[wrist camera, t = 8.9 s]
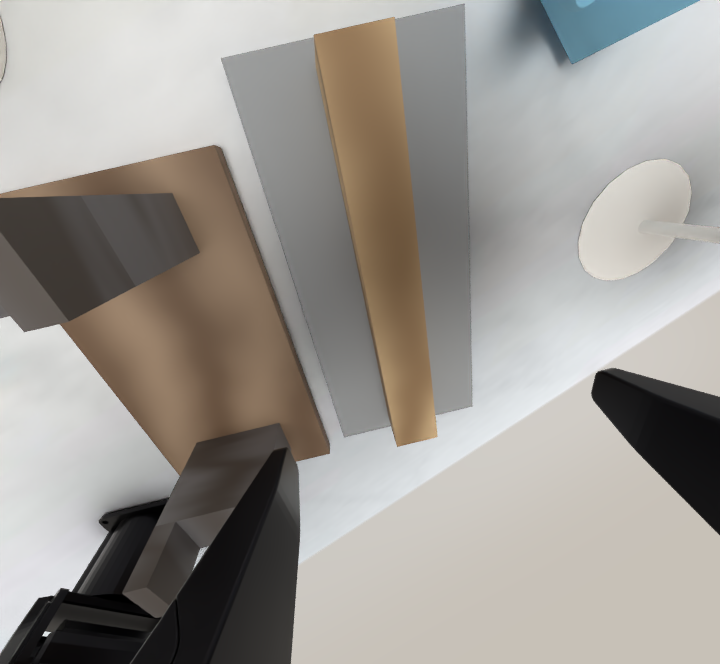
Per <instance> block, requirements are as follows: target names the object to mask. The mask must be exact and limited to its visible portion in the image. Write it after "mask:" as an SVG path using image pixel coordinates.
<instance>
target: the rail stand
mask: <svg viewBox="0 0 720 664" xmlns="http://www.w3.org/2000/svg"><path fill="white" fill-rule="evenodd" d="M8 316H11V317H12V318H13V320H14V321H15V322H16V323H17V324H18V325H19V327H20V328H21V329H22V330H23V331H24V332H27V331H31V330H36V329H40V328H44V327H48V326H53V325H57V324H60V325H61V326H62V327H63V329H64V330H65V331H66V332H67V334H68V335H69V336H70V338H71V339H72V340H73V341H74V343H75V344H76V345H77V346H78V348H79V349H80V350H81V351H82V353H83V354H84V355H85V357H86V358H87V359H88V360H89V362H90V363H91V364H92V365H93V367H94V368H95V369H96V370H97V372H98V373H99V374H100V376H101V377H102V378H103V379H104V381H105V382H106V383H107V384H108V386H109V387H110V388H111V389H112V391H113V392H114V393H115V394H116V396H117V397H118V398H119V400H120V401H121V402H122V403H123V405H124V406H125V407H126V408H127V410H128V411H129V412H130V413H131V415H132V416H133V417H134V419H135V420H136V421H137V422H138V424H139V425H140V426H141V427H142V429H143V430H144V431H145V432H146V434H147V435H148V436H149V438H150V439H151V440H152V441H153V443H154V444H155V445H156V446H157V448H158V449H159V450H160V451H161V453H162V454H163V455H164V456H165V458H166V459H167V460H168V462H169V463H170V464H171V465H172V467H173V468H174V469H175V470H176V472H177V473H178V474H179V475H180V477H179V479H178V481H177V483H176V485H175V487H174V489H173V491H172V493H171V495H170V497H169V499H168V501H167V503H166V505H165V507H164V509H163V511H162V513H161V515H160V517H159V520H158V522H157V524H156V526H155V528H154V530H153V532H152V534H151V536H150V538H149V540H148V542H147V544H146V546H145V548H144V550H143V552H142V554H141V556H140V558H139V560H138V562H137V564H136V566H135V568H134V570H133V572H132V574H131V576H130V578H129V580H128V582H127V584H126V586H125V588H124V590H123V592H122V594H123V595H125V596H126V597H127V598H129V599H130V600H131V601H133V602H134V603H136V604H137V605H138V606H140V607H141V608H142V609H144V610H145V611H146V612H148V613H149V614H151V615H152V616H153V617H155V618H159V617H162V616H163V615H164V613H165V612H166V610H167V609H168V607H169V606H170V604H171V603H172V601H173V600H174V599H176V596H177V594H178V592H179V591H180V589H181V588H182V586H183V585H184V583H185V582H186V580H187V579H188V577H189V576H190V574H191V573H192V570H193V567H194V564H195V561H196V559H197V556H198V553H199V550H200V548H203V547H207V546H210V544H211V543H212V541H213V540H214V538H215V537H216V535H217V534H218V532H219V530H220V529H221V527H222V526H223V524H224V523H225V521H226V520H227V518H228V517H229V515H230V514H231V512H232V511H233V509H234V508H235V506H236V505H237V503H238V502H239V500H240V499H241V497H242V496H243V494H244V493H245V491H246V490H247V488H248V487H249V485H250V484H251V482H252V481H253V479H254V478H255V476H256V475H257V473H258V472H259V470H260V469H261V467H262V466H263V464H264V463H265V461H266V460H267V458H268V457H269V455H270V454H271V452H272V451H273V450H275V449H279V448H283V447H288V448H289V449H290V451H291V453H292V455H293V458H294V460H295V462H296V461H301V460H305V459H309V458H313V457H317V456H321V455H325V454H330V444H329V441H328V438H327V436H326V433H325V430H324V427H323V425H322V422H321V419H320V416H319V414H318V411H317V408H316V406H315V403H314V400H313V397H312V395H311V392H310V389H309V386H308V384H307V381H306V378H305V376H304V373H303V370H302V367H301V365H300V362H299V359H298V356H297V354H296V351H295V348H294V346H293V343H292V340H291V337H290V335H289V332H288V329H287V326H286V324H285V321H284V318H283V316H282V313H281V310H280V307H279V305H278V302H277V299H276V296H275V294H274V291H273V288H272V286H271V283H270V280H269V277H268V275H267V272H266V269H265V266H264V264H263V261H262V258H261V256H260V253H259V250H258V247H257V245H256V242H255V239H254V236H253V234H252V231H251V228H250V226H249V223H248V220H247V217H246V215H245V212H244V209H243V206H242V204H241V201H240V198H239V196H238V193H237V190H236V187H235V185H234V182H233V179H232V177H231V174H230V171H229V168H228V166H227V163H226V160H225V157H224V155H223V152H222V149H221V148H220V147H218V146H215V145H212V146H208V147H204V148H199V149H195V150H190V151H186V152H182V153H177V154H173V155H168V156H164V157H160V158H155V159H151V160H147V161H142V162H138V163H133V164H129V165H125V166H120V167H116V168H111V169H107V170H103V171H98V172H94V173H89V174H85V175H81V176H76V177H72V178H68V179H63V180H59V181H54V182H50V183H46V184H41V185H37V186H32V187H28V188H24V189H19V190H15V191H10V192H6V193H2V194H0V318H4V317H8Z"/></svg>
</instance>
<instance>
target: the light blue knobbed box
mask: <svg viewBox="0 0 720 664" xmlns="http://www.w3.org/2000/svg"><path fill="white" fill-rule="evenodd" d="M540 1H541V3H542V5H543V7H544V9H545V11H546V13H547V15H548V17H549V19H550V21H551V23H552V25H553V27H554V29H555V31H556V33H557V35H558V37H559V39H560V41H561V43H562V46H563V48H564V50H565V52H566V54H567V56H568V58H569V60H570V62H571V64H574V63H576V62H578V61H580V60H582V59H584V58H586V57H588V56H590V55H592V54H594V53H596V52H598V51H600V50H602V49H604V48H606V47H608V46H610V45H612V44H614V43H616V42H618V41H620V40H622V39H624V38H626V37H628V36H630V35H632V34H634V33H636V32H638V31H640V30H642V29H644V28H646V27H648V26H650V25H652V24H654V23H656V22H658V21H660V20H662V19H664V18H666V17H668V16H670V15H672V14H674V13H676V12H678V11H680V10H682V9H684V8H686V7H688V6H690V5H692V4H694V3H696V2H698V1H700V0H540Z"/></svg>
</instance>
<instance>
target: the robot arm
mask: <svg viewBox="0 0 720 664" xmlns="http://www.w3.org/2000/svg"><path fill="white" fill-rule="evenodd" d="M591 394H592V398H593V400H594V402H595V403H596V404H597V405H598V407H599V408H600V409H601V410H602V411H603V413H604V414H605V415H606V416H607V417H608V418H609V420H610V421H611V422H612V423H613V425H614V426H615V427H616V428H617V429H618V430H619V432H620V433H621V434H622V435H623V436H624V438H625V439H626V440H627V441H628V442H629V443H630V445H631V446H632V447H633V448H634V449H635V450H636V451H637V452H638V453H639V454H640V455H641V456H642V458H643V459H644V460H645V461H647V463H648V464H649V465H650V466H651V467H652V468H654V469H655V471H656V472H657V473H658V474H659V475H661V477H662V478H663V479H664V480H665V481H666V482H667V483H668V484H669V485H670V486H671V487H672V488H673V489H674V490H675V491H676V492H677V493H678V494H679V495H680V496H681V497H682V498H683V499H684V500H685V501H686V502H687V503H688V504H689V505H690V506H691V507H692V508H693V509H694V510H695V511H696V512H697V513H698V514H699V515H700V516H701V517H702V518H703V519H704V520H705V521H706V522H707V523H708V524H709V525H710V526H711V527H712V528H713V529H714V530H715V531H716V532H717V533H718V534H719V535H720V397H718V396H714V395H711V394H707V393H704V392H700V391H696V390H693V389H689V388H685V387H682V386H678V385H674V384H671V383H667V382H664V381H660V380H656V379H653V378H649V377H645V376H642V375H638V374H635V373H631V372H627V371H624V370H620V369H616V368H610V369H605V370H601V371H598V372H597V373H596V375H595V379H594V383H593V387H592V392H591ZM167 501H168V500H163V501H159V502H155V503H151V504H147V505H142V506H138V507H134V508H130V509H126V510H122V511H118V512H113V513H109V514H105V515H103V516H102V517H101V519H100V520H99V523H100V524H101V525H102V526H103V527H104V528H105V529H106V530H107V531H109V533H108V534H107V536H106V538H105V539H104V541H103V543H102V544H101V546H100V547H99V549H98V551H97V552H96V554H95V555H94V557H93V559H92V560H91V562H90V563H89V565H88V567H87V568H86V570H85V571H84V573H83V575H82V576H81V578H80V579H79V581H78V583H77V584H76V586H75V587H74V589H73V591H72V592H70V591H69V589H64V588H60V590H59V591H58V592H57V593H56V594H55V596H48V597H42V598H38V600H37V601H36V602H35V603H34V605H33V606H32V608H31V609H30V611H29V612H28V613H27V615H26V616H25V618H24V619H23V621H22V622H21V624H20V625H19V626H18V628H17V629H16V631H15V632H14V634H13V635H12V637H11V638H10V640H9V641H8V643H7V644H6V646H5V647H4V649H3V650H2V652H1V653H0V664H291V653H292V638H293V624H294V611H295V598H296V584H297V570H298V557H299V543H300V505H299V473H298V467H297V464H296V462H295V460H294V458H293V455H292V453H291V451H290V449H289V448H288V447H283V448H279V449H275V450H273V451H272V452H271V454H270V455H269V457H268V458H267V460H266V461H265V463H264V464H263V466H262V467H261V469H260V470H259V472H258V473H257V475H256V476H255V478H254V479H253V481H252V482H251V484H250V485H249V487H248V488H247V490H246V491H245V493H244V494H243V496H242V497H241V499H240V500H239V502H238V503H237V505H236V506H235V508H234V509H233V511H232V512H231V514H230V515H229V517H228V518H227V520H226V521H225V523H224V524H223V526H222V527H221V529H220V530H219V532H218V534H217V535H216V537H215V538H214V540H213V541H212V543H211V544H210V546H209V547H208V549H207V550H206V552H205V553H204V555H203V556H202V558H201V559H200V561H199V562H198V564H197V565H196V567H195V568H194V570H193V571H192V573H191V574H190V576H189V577H188V579H187V580H186V582H185V583H184V585H183V586H182V588H181V589H180V591H179V592H178V594H177V596H176V599H174V600H173V601H172V603H171V604H170V606H169V607H168V609H167V610H166V612H165V613H164V615H163V616H162V617H159V618H155V617H153V616H152V615H151V614H149V613H148V612H146V611H145V610H144V609H142V608H141V607H140V606H138V605H137V604H136V603H134V602H133V601H131V600H130V599H129V598H127V597H126V596H125V595H123V594H122V592H123V590H124V588H125V586H126V584H127V582H128V580H129V578H130V576H131V574H132V572H133V570H134V568H135V566H136V564H137V562H138V560H139V558H140V556H141V554H142V552H143V550H144V548H145V546H146V544H147V542H148V540H149V538H150V536H151V534H152V532H153V530H154V528H155V526H156V524H157V522H158V520H159V517H160V515H161V513H162V511H163V509H164V507H165V505H166V503H167ZM45 631H47V632H51V633H50V634H49V635H48V636H47V637H44V636H42V635H43V633H44V632H45Z"/></svg>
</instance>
